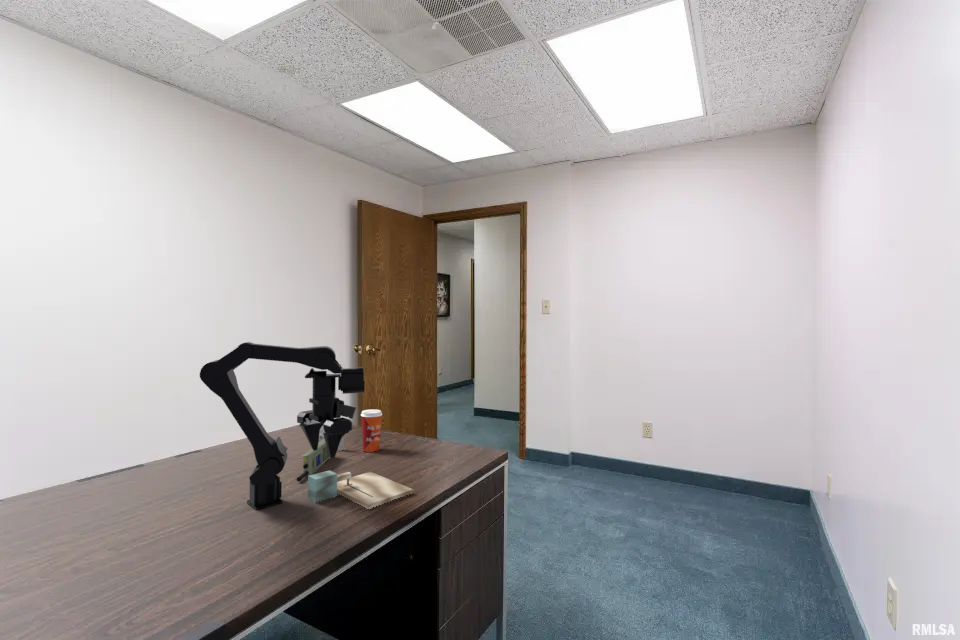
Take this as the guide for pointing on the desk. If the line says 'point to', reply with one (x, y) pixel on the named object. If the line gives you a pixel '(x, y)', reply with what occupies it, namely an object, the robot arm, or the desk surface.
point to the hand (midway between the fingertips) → (323, 453)
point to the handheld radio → (314, 460)
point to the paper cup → (371, 429)
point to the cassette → (321, 437)
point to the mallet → (325, 485)
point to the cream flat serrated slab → (371, 490)
